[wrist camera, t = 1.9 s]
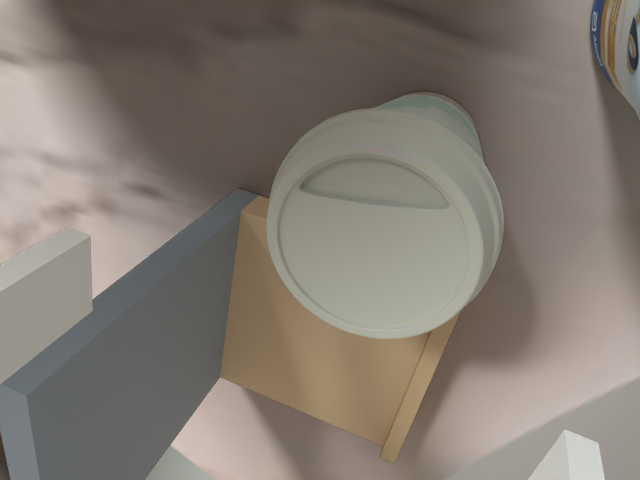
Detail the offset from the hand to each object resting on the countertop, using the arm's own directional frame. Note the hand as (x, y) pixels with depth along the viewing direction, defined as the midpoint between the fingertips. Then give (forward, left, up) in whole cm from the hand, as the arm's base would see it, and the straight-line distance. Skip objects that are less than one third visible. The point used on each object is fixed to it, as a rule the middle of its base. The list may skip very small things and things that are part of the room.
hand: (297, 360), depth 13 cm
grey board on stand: (+12, -9, -17) cm, 23 cm away
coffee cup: (-1, 0, -17) cm, 17 cm away
